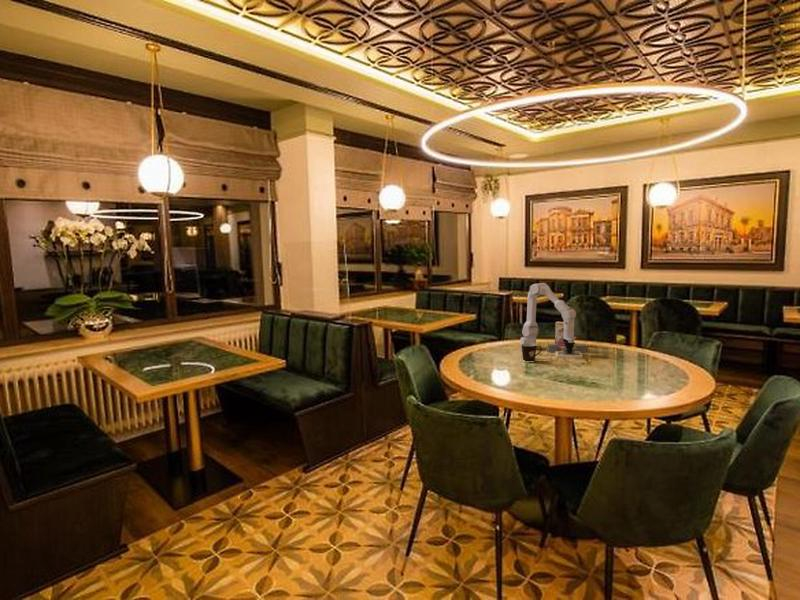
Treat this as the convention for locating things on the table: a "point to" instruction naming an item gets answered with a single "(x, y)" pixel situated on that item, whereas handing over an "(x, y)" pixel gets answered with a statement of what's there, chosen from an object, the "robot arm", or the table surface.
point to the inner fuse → (553, 348)
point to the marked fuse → (567, 353)
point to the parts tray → (569, 355)
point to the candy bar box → (559, 333)
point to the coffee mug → (529, 351)
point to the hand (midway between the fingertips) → (568, 352)
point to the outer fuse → (580, 348)
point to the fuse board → (573, 347)
